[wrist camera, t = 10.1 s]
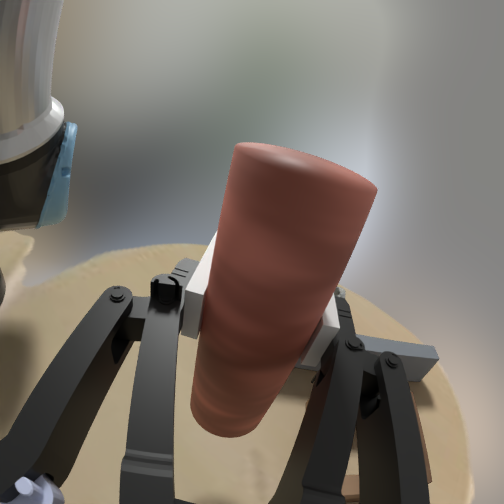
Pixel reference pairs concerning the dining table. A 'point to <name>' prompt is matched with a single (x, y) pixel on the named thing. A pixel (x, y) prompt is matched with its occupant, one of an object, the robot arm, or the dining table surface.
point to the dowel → (271, 277)
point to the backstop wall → (411, 355)
